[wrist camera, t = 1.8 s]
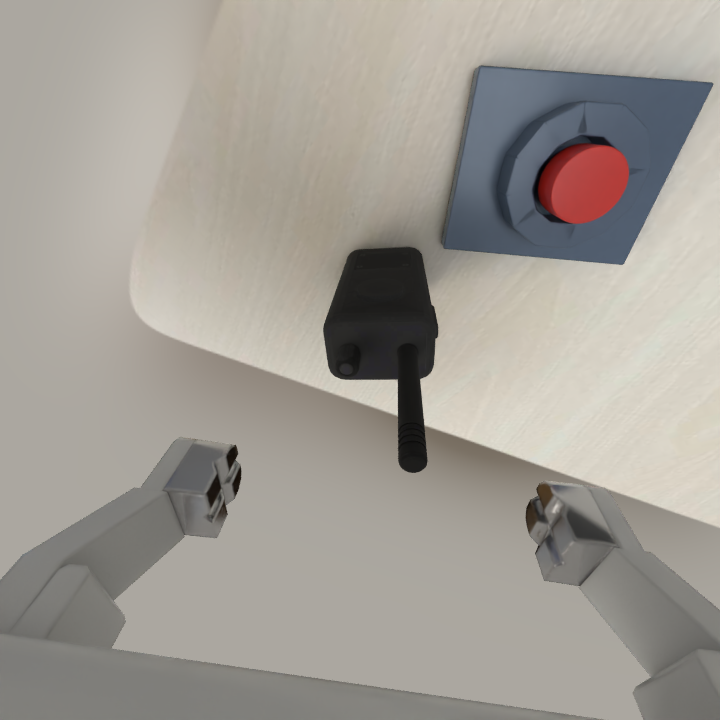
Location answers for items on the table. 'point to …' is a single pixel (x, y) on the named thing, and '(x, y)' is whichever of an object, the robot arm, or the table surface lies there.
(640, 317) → the table surface
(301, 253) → the table surface
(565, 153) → the button
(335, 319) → the walkie-talkie
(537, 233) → the switch block
